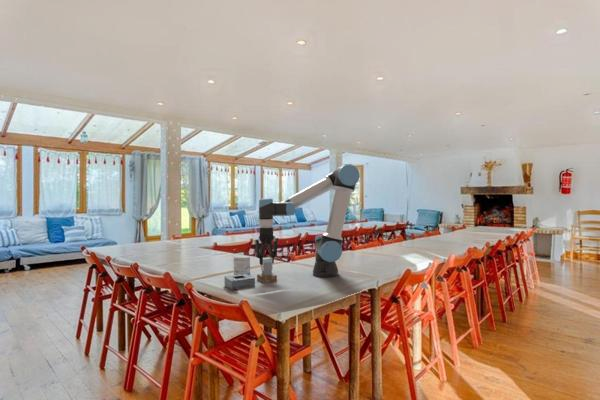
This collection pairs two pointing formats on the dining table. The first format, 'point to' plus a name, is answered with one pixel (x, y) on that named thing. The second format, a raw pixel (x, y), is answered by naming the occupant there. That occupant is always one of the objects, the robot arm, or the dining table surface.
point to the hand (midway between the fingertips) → (266, 269)
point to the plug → (267, 267)
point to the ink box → (241, 265)
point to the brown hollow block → (266, 278)
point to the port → (239, 281)
